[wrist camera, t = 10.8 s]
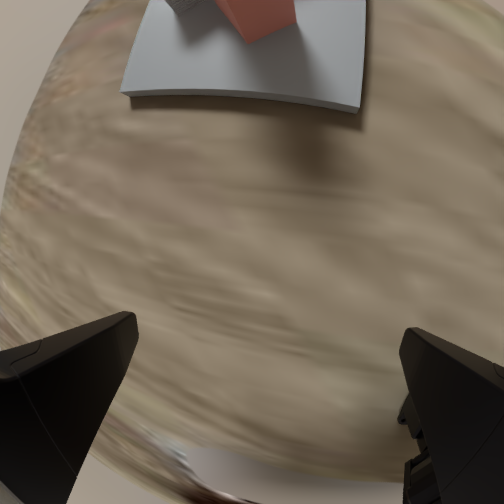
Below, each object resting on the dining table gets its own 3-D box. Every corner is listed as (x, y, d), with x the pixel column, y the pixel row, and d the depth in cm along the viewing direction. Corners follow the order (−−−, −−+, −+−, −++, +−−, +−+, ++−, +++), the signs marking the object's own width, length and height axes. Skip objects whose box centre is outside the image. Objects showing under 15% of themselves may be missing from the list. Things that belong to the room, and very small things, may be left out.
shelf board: (363, -32, 15) (364, -42, 13) (356, 113, 18) (359, 107, 16) (175, -34, 18) (169, -41, 16) (129, 96, 21) (119, 92, 19)
